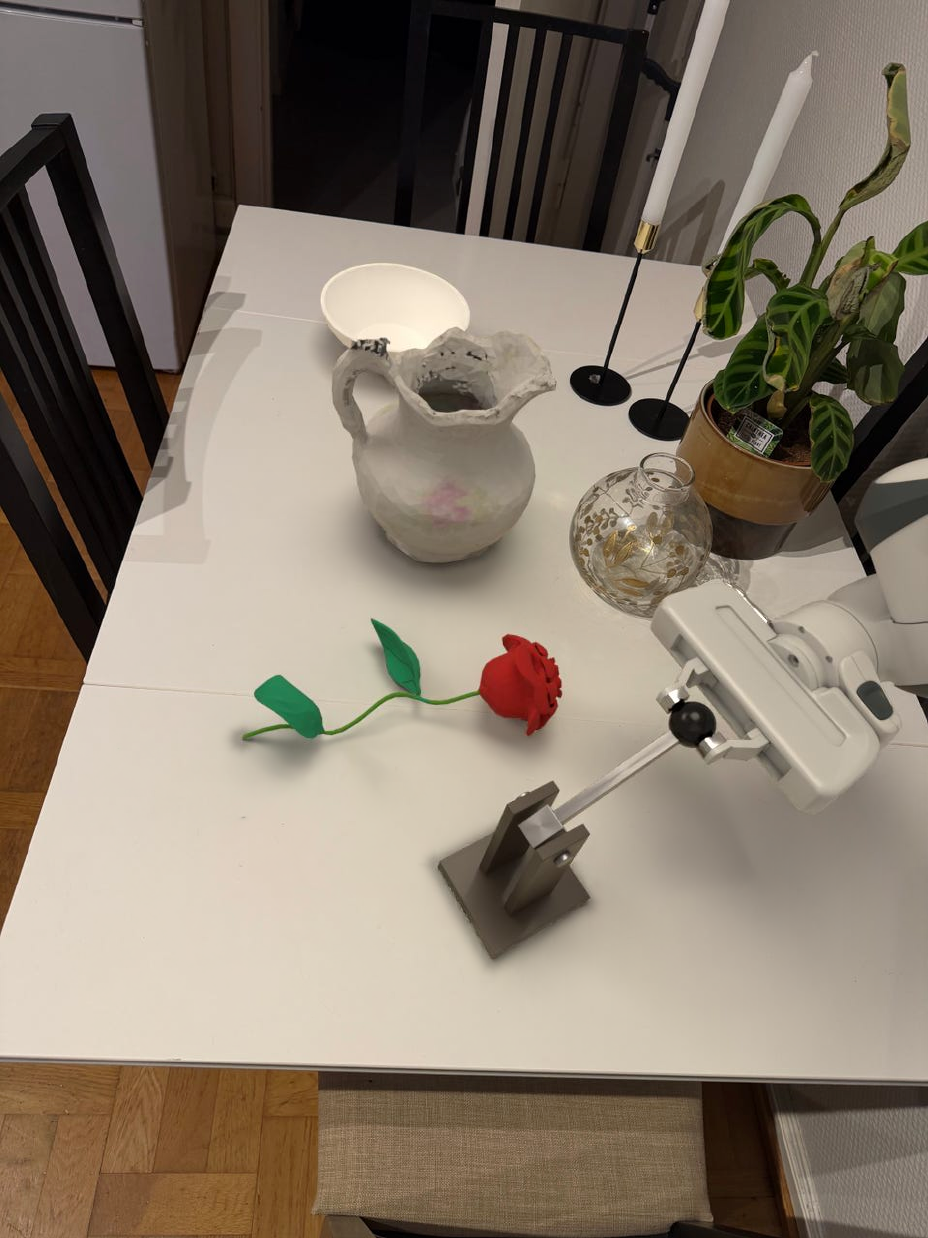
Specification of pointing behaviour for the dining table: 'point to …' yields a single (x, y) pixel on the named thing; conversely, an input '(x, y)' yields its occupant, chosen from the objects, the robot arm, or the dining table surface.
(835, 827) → the dining table surface
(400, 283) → the bowl
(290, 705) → the decorative flower
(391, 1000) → the dining table surface
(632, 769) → the lever
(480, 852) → the bracket
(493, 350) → the ceramic pitcher
